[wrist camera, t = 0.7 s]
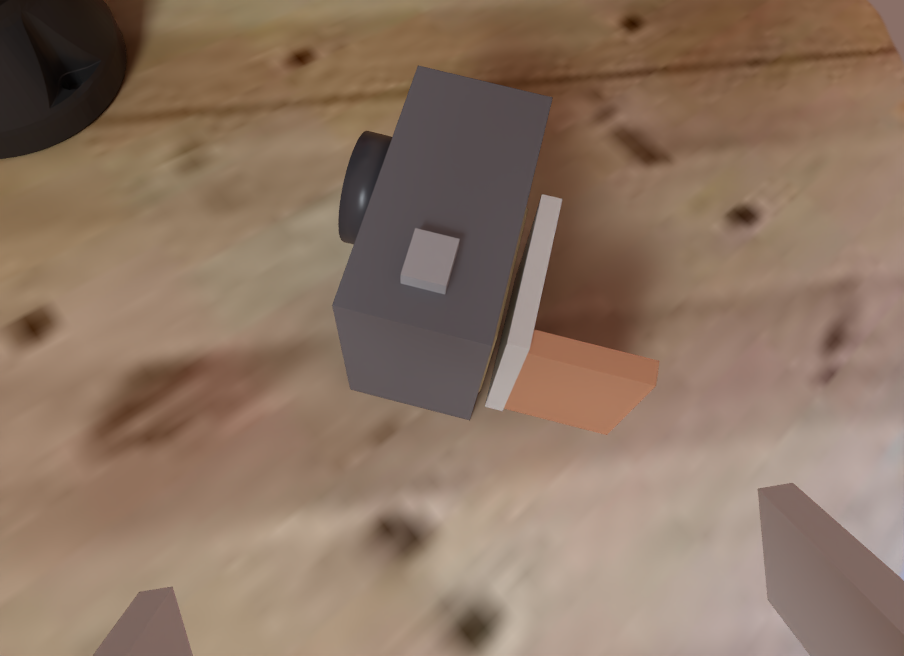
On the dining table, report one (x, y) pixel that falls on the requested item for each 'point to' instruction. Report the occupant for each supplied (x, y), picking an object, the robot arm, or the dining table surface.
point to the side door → (560, 354)
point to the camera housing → (435, 239)
